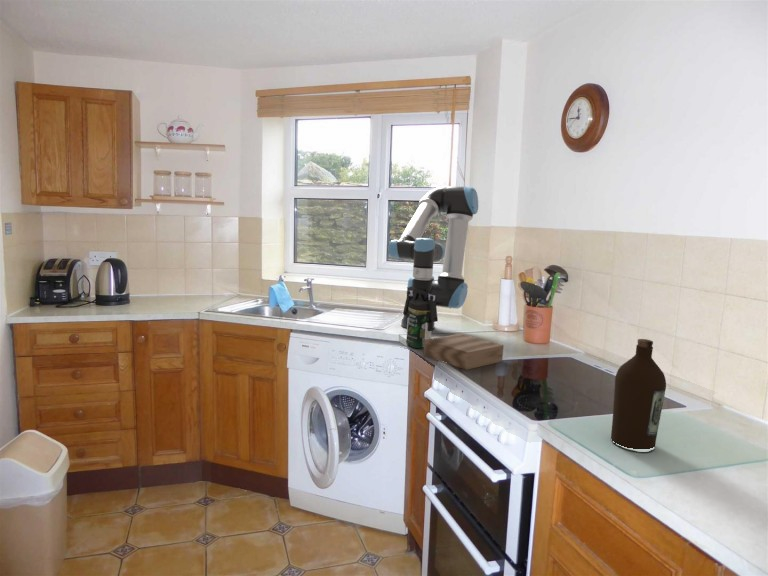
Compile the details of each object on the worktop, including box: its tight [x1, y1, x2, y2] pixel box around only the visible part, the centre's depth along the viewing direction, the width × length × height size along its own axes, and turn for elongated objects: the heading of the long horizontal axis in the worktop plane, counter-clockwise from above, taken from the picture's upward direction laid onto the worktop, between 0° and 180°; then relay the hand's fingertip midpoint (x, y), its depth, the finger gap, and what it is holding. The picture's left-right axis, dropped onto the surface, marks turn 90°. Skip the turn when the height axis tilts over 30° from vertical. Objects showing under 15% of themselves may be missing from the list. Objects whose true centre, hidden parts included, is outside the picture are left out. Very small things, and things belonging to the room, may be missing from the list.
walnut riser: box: [423, 333, 504, 371], centre depth 191 cm, size 20×20×6 cm
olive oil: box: [610, 338, 667, 449], centre depth 123 cm, size 11×11×25 cm
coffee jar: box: [406, 299, 430, 350], centre depth 205 cm, size 10×8×19 cm
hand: (418, 336), depth 205 cm, fingers closed on coffee jar, 9 cm apart
